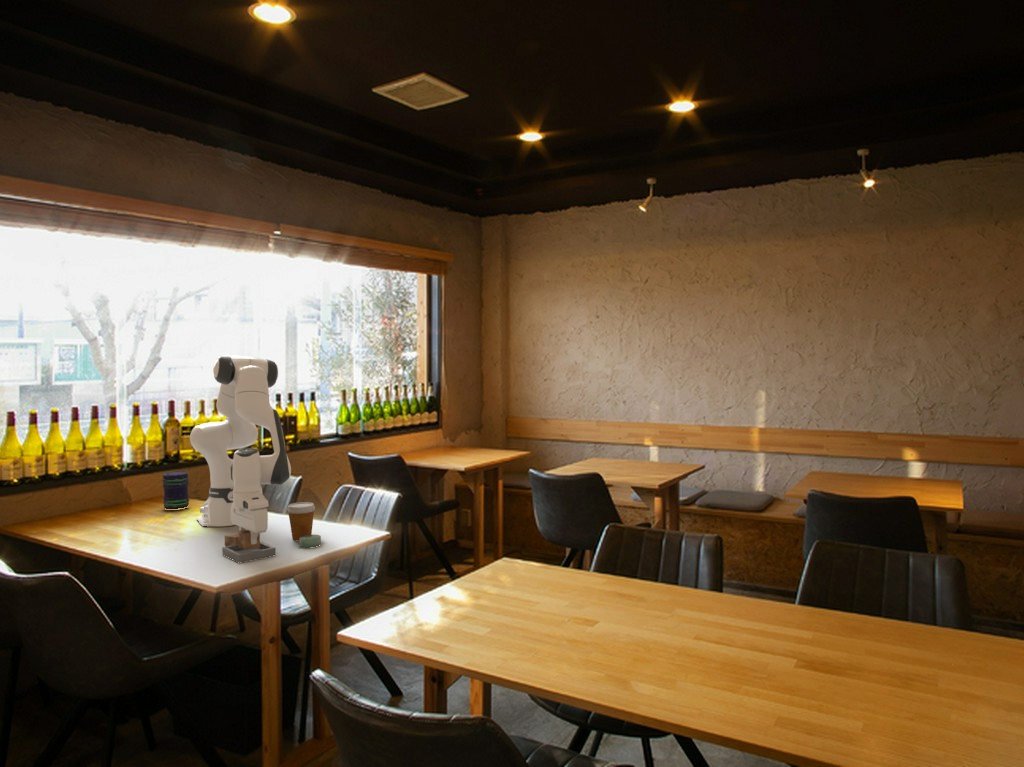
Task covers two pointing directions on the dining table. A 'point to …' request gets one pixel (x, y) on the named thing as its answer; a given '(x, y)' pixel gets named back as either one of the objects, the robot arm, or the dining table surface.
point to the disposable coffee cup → (301, 519)
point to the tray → (248, 552)
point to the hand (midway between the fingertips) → (249, 542)
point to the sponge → (310, 541)
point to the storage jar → (175, 490)
